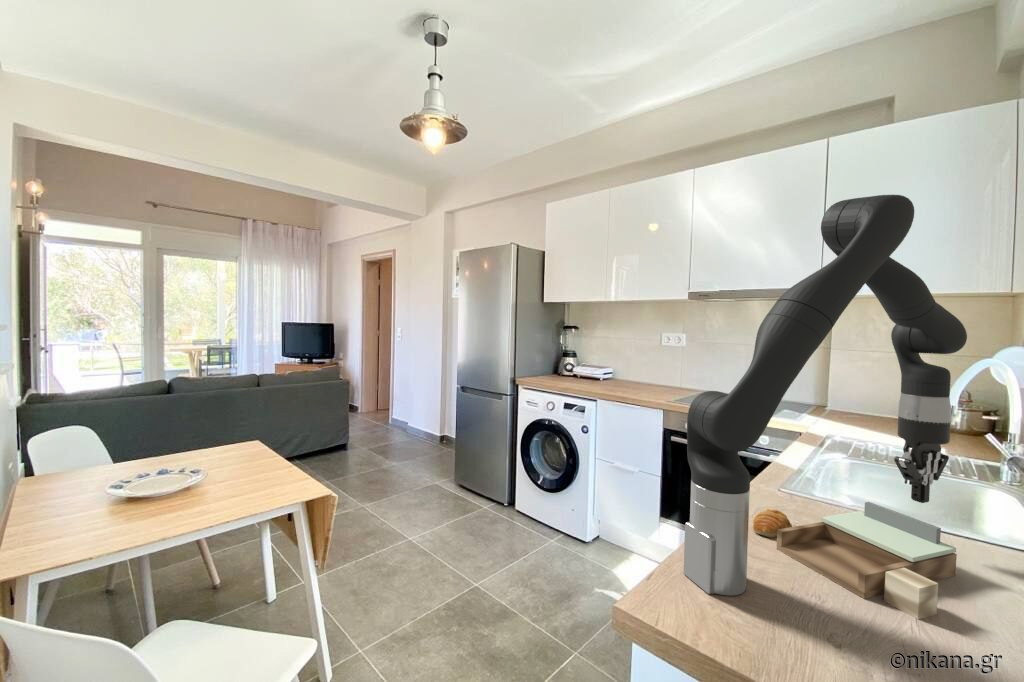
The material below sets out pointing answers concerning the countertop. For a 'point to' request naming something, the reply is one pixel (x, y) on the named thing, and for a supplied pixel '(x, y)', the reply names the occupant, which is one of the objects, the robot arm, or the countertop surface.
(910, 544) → the lid
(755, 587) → the countertop surface
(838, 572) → the wooden box
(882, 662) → the countertop surface
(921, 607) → the block
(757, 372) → the robot arm
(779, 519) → the pastry
